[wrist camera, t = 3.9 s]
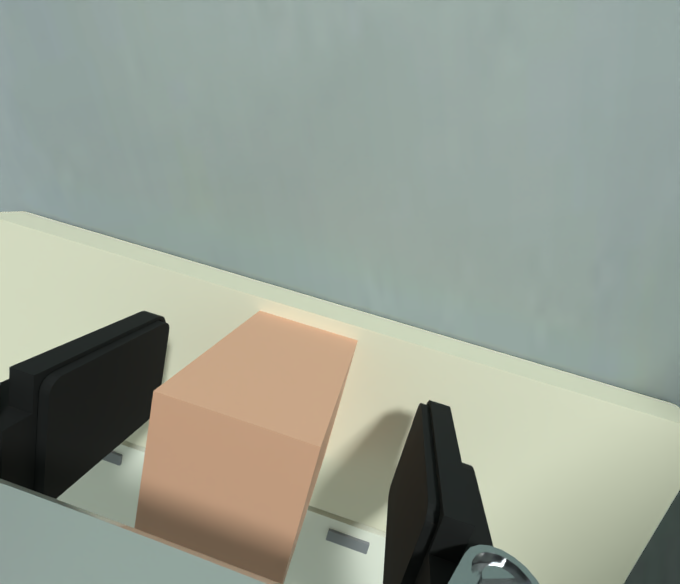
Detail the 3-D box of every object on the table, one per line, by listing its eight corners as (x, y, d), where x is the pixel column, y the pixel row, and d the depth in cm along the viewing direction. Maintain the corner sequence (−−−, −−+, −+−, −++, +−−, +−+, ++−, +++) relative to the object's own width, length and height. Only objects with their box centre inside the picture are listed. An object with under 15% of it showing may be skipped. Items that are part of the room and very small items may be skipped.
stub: (675, 404, 12) (988, 644, 5) (586, 565, 13) (744, 891, 7) (24, 211, 14) (-296, 221, 7) (19, 371, 15) (-246, 488, 9)
